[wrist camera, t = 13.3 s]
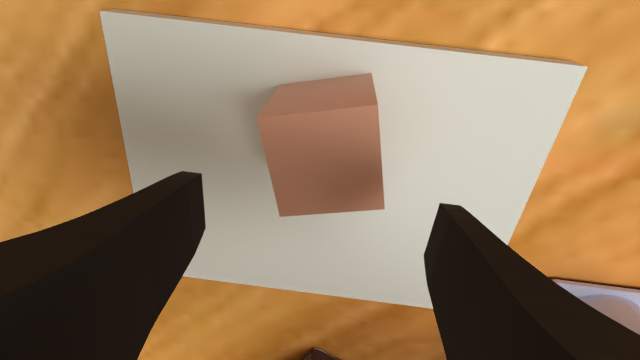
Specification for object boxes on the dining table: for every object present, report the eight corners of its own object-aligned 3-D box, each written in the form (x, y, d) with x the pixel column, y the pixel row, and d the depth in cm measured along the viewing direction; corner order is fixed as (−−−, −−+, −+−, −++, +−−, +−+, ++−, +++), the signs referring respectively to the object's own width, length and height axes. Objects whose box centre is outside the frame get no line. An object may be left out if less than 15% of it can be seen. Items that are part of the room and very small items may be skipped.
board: (471, 300, 25) (494, 363, 21) (156, 259, 25) (118, 314, 21) (573, 61, 17) (643, 87, 13) (114, 8, 17) (41, 18, 13)
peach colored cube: (371, 73, 17) (377, 104, 13) (377, 158, 19) (384, 209, 15) (279, 84, 17) (256, 117, 13) (295, 165, 19) (279, 217, 15)
